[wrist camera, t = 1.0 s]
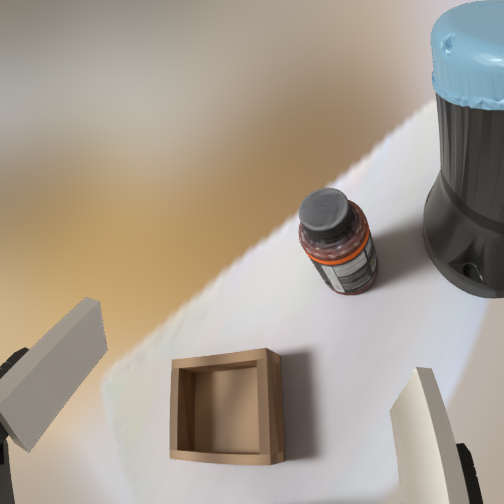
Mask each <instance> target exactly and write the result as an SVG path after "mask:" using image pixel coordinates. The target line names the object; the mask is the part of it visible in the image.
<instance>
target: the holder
mask: <svg viewBox="0 0 504 504" xmlns="http://www.w3.org/2000/svg"><path fill="white" fill-rule="evenodd" d="M170 458H171V459H178V460H186V461H195V462H206V463H218V464H236V465H273V464H277V463H280V462H284V461H285V448H284V425H283V404H282V384H281V365H280V355H278V354H276V353H274V352H273V351H271V350H269V349H267V348H262V349H255V350H249V351H242V352H235V353H227V354H220V355H212V356H203V357H194V358H185V359H175V360H172V371H171V396H170Z"/></svg>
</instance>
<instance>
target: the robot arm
mask: <svg viewBox="0 0 504 504" xmlns="http://www.w3.org/2000/svg"><path fill="white" fill-rule="evenodd" d="M431 48H432V57H433V67H434V70H433V72H432V84H433V87H434V90H435V92H436V101H437V110H438V122H439V137H440V161H441V170H440V172H439V174H438V176H437V179H436V181H435V183H434V185H433V186H432V188H431V190H430V192H429V194H428V196H427V199H426V203H425V207H424V215H423V231H424V239H425V244H426V247H427V250H428V253H429V255H430V257H431V259H432V261H433V263H434V264H435V266H436V267H437V269H438V270H439V271H440V272H441V273H442V275H443V276H444V277H445V278H446V279H447V280H449V281H450V282H451V283H452V284H454V285H455V286H456V287H458V288H459V289H461V290H463V291H465V292H467V293H469V294H472V295H475V296H479V297H483V298H504V0H486V1H476V2H471V3H466V4H462V5H459V6H457V7H454V8H452V9H450V10H448V11H447V12H445V13H444V14H443V15H441V16H440V17H439V18H438V20H437V21H436V22H435V24H434V26H433V28H432V32H431ZM107 350H108V349H107V343H106V337H105V332H104V326H103V320H102V313H101V306H100V301H97V300H94V299H91V298H88V297H86V298H84V299H83V300H82V301H81V302H80V303H79V304H78V305H76V306H75V307H74V308H73V309H72V310H71V311H70V312H69V313H68V314H67V315H66V316H64V317H63V318H62V319H61V320H60V321H59V322H58V323H57V324H56V325H55V326H54V327H53V328H52V329H51V330H49V331H48V332H47V333H46V334H45V335H44V336H43V337H42V338H41V339H40V340H39V341H38V342H37V343H36V344H35V345H34V346H33V347H32V348H31V349H30V350H29V349H27V348H26V347H25V348H23V349H21V350H19V351H17V352H15V353H14V354H13V355H12V356H11V357H9V358H8V359H7V360H6V363H3V364H2V365H1V366H0V504H15V501H14V495H13V488H12V481H11V474H10V464H9V454H8V443H7V440H6V438H7V437H8V435H9V436H10V437H11V439H12V440H13V441H14V443H15V444H17V445H18V446H20V447H21V448H23V449H24V450H25V451H27V452H28V453H30V451H31V450H32V448H33V447H34V445H35V444H36V443H37V441H38V440H39V439H40V437H41V436H42V435H43V433H44V432H45V430H46V429H47V428H48V427H49V425H50V424H51V422H52V421H53V420H54V418H55V417H56V416H57V414H58V413H59V412H60V410H61V409H62V408H63V407H64V405H65V404H66V403H67V401H68V400H69V399H70V397H71V396H72V395H73V393H74V392H75V391H76V389H77V388H78V387H79V386H80V384H81V383H82V382H83V381H84V379H85V378H86V377H87V375H88V374H89V373H90V372H91V370H92V369H93V368H94V366H95V365H96V364H97V363H98V362H99V360H100V359H101V358H102V357H103V355H104V354H105V353H106V352H107ZM390 415H391V421H392V428H393V434H394V441H395V448H396V456H397V464H398V473H399V482H400V491H401V504H483V500H482V496H481V491H480V487H479V483H478V478H477V476H476V470H475V467H474V463H473V459H472V456H471V453H470V451H469V450H468V448H467V447H466V446H465V444H464V443H460V444H456V443H455V440H454V436H453V432H452V429H451V426H450V422H449V419H448V416H447V413H446V409H445V406H444V403H443V400H442V397H441V394H440V391H439V388H438V385H437V382H436V380H435V377H434V374H433V371H432V369H431V368H420V367H416V368H415V370H414V372H413V373H412V375H411V377H410V379H409V380H408V382H407V384H406V385H405V387H404V389H403V390H402V392H401V394H400V395H399V397H398V399H397V400H396V402H395V403H394V405H393V406H392V408H391V410H390Z"/></svg>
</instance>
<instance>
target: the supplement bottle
mask: <svg viewBox="0 0 504 504" xmlns="http://www.w3.org/2000/svg"><path fill="white" fill-rule="evenodd" d="M299 218H300V221H301V222H300V226H299V239H300V243H301V245H302V247H303V249H304V250H305V252H306V254H307V255H308V256H309V258H310V259H311V261H312V262H313V264H314V266H315V267H316V269H317V270H318V272H319V273H320V275H321V276H322V278H323V280H324V281H325V283H326V284H327V285H328V286H329V287H330V288H331V289H332V290H333V291H335V292H336V293H339V294H342V295H354V294H358V293H360V292H362V291H364V290H366V289H367V288H368V287H369V286H370V285H371V284H372V283H373V281H374V279H375V277H376V275H377V271H378V261H377V257H376V252H375V248H374V245H373V240H372V237H371V233H370V229H369V225H368V222H367V219H366V217H365V215H364V213H363V211H362V210H361V208H360V207H359V206H358V205H356V204H355V203H354V202H352V201H350V200H348V199H347V197H346V196H345V195H344V193H342V192H341V191H339V190H337V189H334V188H322V189H318V190H316V191H314V192H312V193H310V194H309V195H308V196H306V197H305V199H304V200H303V201H302V203H301V205H300V208H299Z"/></svg>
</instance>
